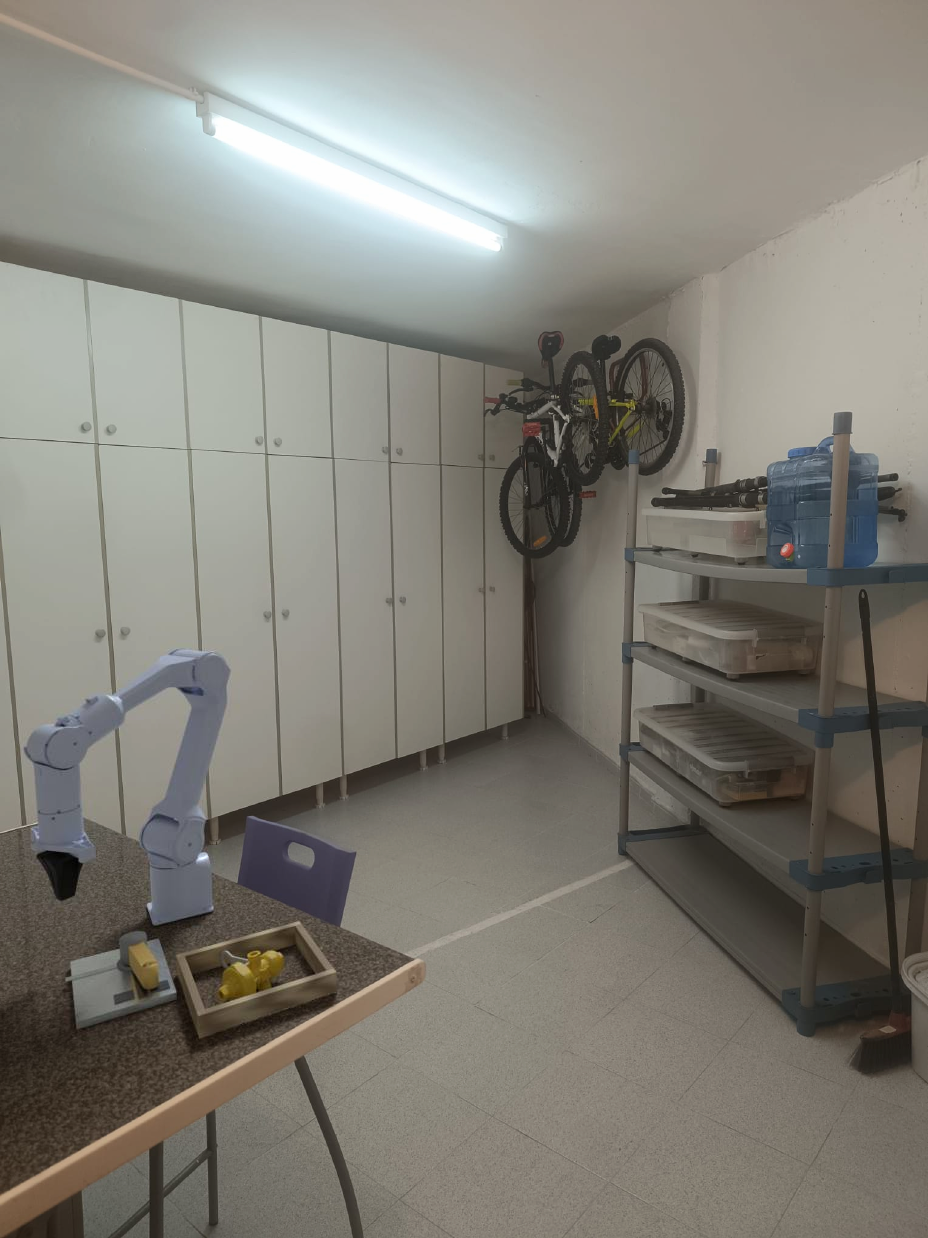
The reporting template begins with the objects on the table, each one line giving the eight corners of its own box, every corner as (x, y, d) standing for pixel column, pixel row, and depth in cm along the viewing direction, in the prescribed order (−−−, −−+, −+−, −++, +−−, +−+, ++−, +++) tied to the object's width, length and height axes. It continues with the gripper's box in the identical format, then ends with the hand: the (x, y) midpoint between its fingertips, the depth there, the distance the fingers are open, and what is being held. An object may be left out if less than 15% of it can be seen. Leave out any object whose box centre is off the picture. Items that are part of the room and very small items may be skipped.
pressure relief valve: (295, 980, 102) (236, 1020, 94) (240, 968, 109) (181, 1003, 101) (289, 942, 102) (229, 978, 94) (234, 931, 109) (174, 964, 101)
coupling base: (159, 944, 113) (158, 937, 112) (176, 999, 99) (176, 991, 99) (64, 969, 106) (63, 962, 106) (69, 1032, 92) (68, 1023, 92)
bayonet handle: (117, 957, 106) (116, 936, 106) (143, 949, 109) (142, 928, 108) (139, 994, 98) (138, 971, 97) (167, 984, 100) (166, 961, 99)
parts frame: (299, 939, 114) (299, 921, 113) (336, 993, 100) (336, 972, 100) (177, 975, 104) (176, 955, 104) (199, 1039, 91) (198, 1016, 90)
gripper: (6, 806, 107) (12, 895, 108) (57, 826, 99) (63, 922, 100) (55, 792, 112) (61, 877, 114) (107, 810, 104) (113, 902, 106)
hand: (65, 897), depth 107 cm, fingers closed
